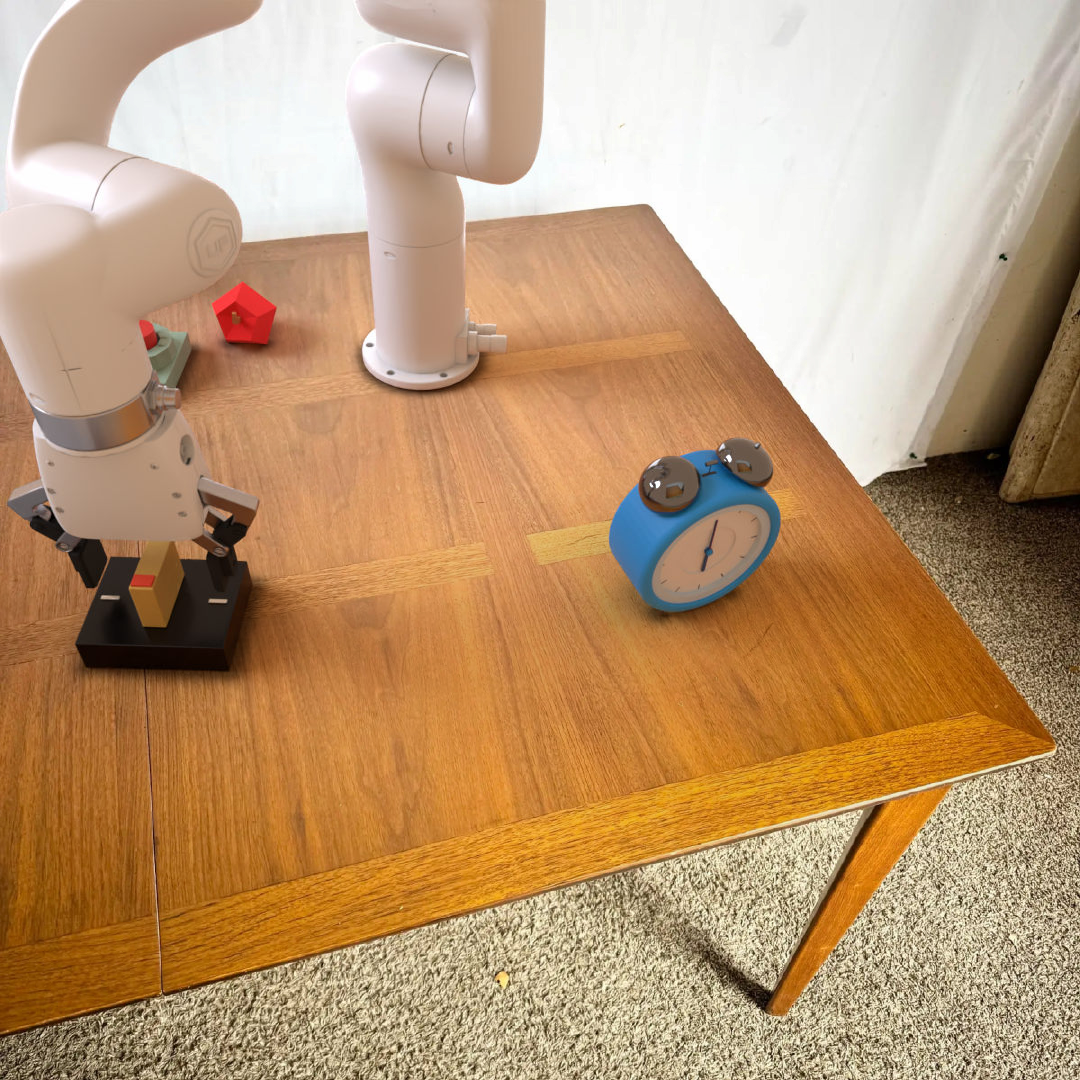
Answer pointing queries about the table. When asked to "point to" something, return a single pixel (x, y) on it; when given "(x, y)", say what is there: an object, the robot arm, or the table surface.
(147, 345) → the bell button
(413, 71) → the robot arm
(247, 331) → the apple
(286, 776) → the table surface
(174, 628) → the plate
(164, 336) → the block
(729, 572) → the alarm clock
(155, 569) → the lock knob
